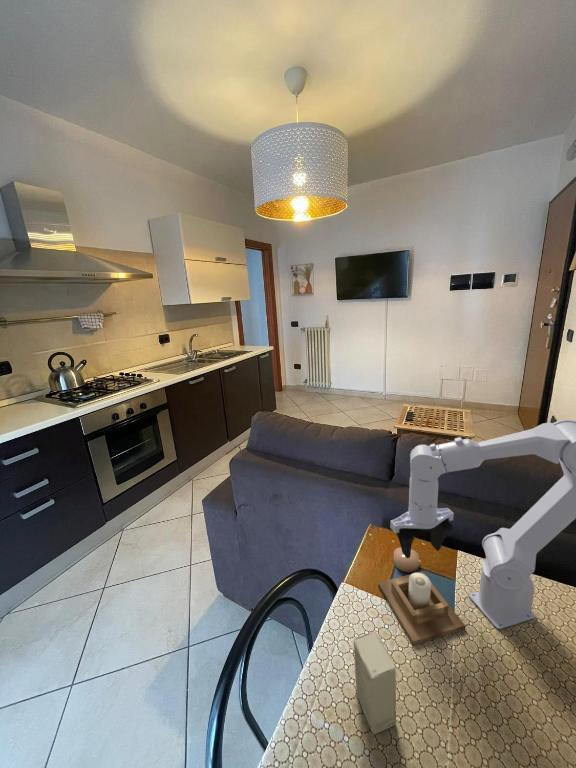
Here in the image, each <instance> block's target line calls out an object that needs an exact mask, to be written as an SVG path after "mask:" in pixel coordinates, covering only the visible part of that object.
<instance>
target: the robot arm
mask: <svg viewBox="0 0 576 768" xmlns="http://www.w3.org/2000/svg"><path fill="white" fill-rule="evenodd" d="M527 455H536V456H537V457H540V458H542V459H544V460H547V461H549V462H551V463H553V464H557V465H558V464H560V467H561V469H562V472H563V476H562V477H561V478H560V479H558V481H557V482H555V484H553V486H552V487H550V488H549V490H547V491H546V492H545V494H544V495H543V496H542V497H541V498H539V499H538V501H536V503H534V505H532V506H531V508H529V510H527V512H526V513H524V514H523V515H522V517H521V518H520V519H518V520H517V521H516V522H515V523H514V525H512V527H510V528H506V527H501V528H499V529H498V530H497V531H495V532H494V533H490V534H487V535H485V536H484V538H483V539H482V541H481V546H482V549H483V550H484V553H485V559H484V560H483V562H482V564H481V571H480V572H481V573H480V582H479V588H478V589H479V590H478V591H476V592H472V593H469V594H468V598H470V601H472V602H473V603H474V604H475V605H476V606H477V608H478V609H479V610H480V612H482V614H483V615H484V616H485V617H486V618H487V619H488V620H489V621H490V623H491V624H492V625H493V626H494V627H495V629H496V630H497V629H498V630H501V629H502V630H503V629H504V628H507V627H510V626H511V627H512V626H514V625H518V624H521V623H524V622H527V621H530V620H533V619H536V615H535V614H534V613H533V612H532V608H533V603H534V596H535V586H534V583H533V580H532V579H531V577H530V576H531V575H532V574H533V573H534V572H535V570H536V561H537V553H539V552H540V551H541V550H542V549H543V548H544V547H546V546H547V545H548V544H549V543H550V542H551V541H553V539H554V538H556V537H557V536H558V535H559V534H560V533H561V532H562V531H563V530H565V529H566V528H567V527H568V526H569V525H570V524H571V523H572V522H573V521H575V520H576V421H575V420H570V419H563V420H557V421H554V422H545V423H541V424H539V425H537V426H535V427H533V428H530V429H526V430H522V431H518V432H514V433H511V434H507V435H503V436H499V437H495V438H491V439H486V440H482V441H479V442H478V441H475V440H473V439H470V438H464V439H462V437H455V438H454V441H450V442H444V443H440V444H435V443H431V444H430V445H427V444H418V445H416V446H415V447H414V448H413V449H411V451H410V454H409V457H410V461H409V467H410V477H409V485H408V486H409V487H408V488H409V492H408V496H409V497H408V508H407V509H408V510H407V511H406V512H404V513H403V514H401V515H400V516H398V517H396V518H394V519H391V520H390V521H389V522H390V526H389V527H390V529H391V530H392V531H393V533H394V534H395V535H396V536H397V537H398V541H399V544H400V547H401V549H402V553H403V554H404V555H405V557H406V558H410V555H411V549H412V545H413V542H414V540H415V537H414V536H413V535H412V534H411V531H410V530H409V529H419V530H429V529H430V543H431V546H432V547H433V548H434V549H435V551H437V552H438V551H440V550H441V548H442V545H443V543H444V541H445V539H446V538H447V536H448V535H449V534H450V533H451V532H452V531H453V524H452V523H451V522H450V521H454V514H455V513H454V512H453V511H452V510H451V509H450V508H448V507H444V508H443V507H442V508H438V498H439V480H438V479H439V477H440V476H442V475H444V474H445V473H450V472H451V473H452V472H458V471H463V470H469V469H476V468H479V467H480V466H481V464H482V463H484V461H485V460H493V459H501V458H503V459H504V458H511V457H519V456H527Z"/></svg>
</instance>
